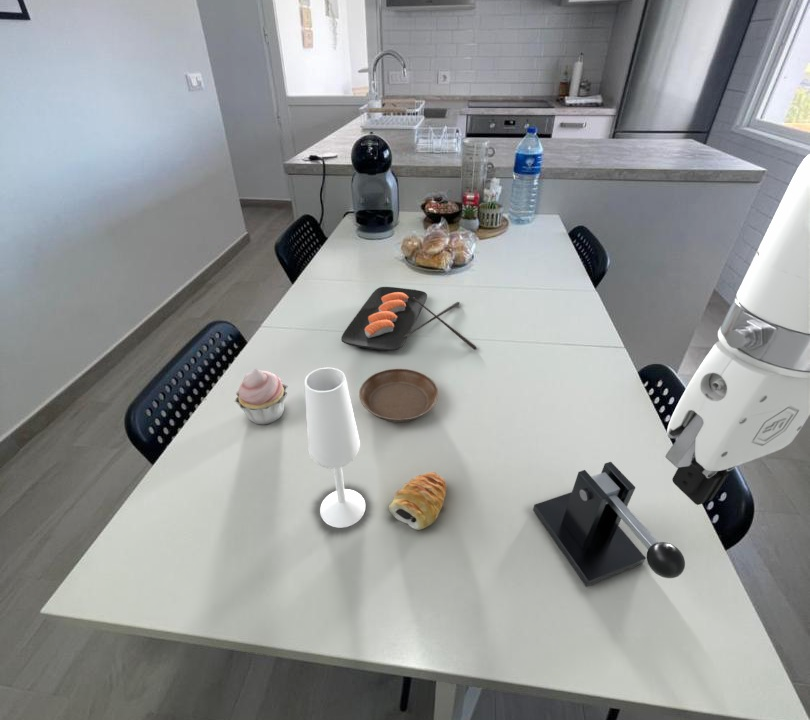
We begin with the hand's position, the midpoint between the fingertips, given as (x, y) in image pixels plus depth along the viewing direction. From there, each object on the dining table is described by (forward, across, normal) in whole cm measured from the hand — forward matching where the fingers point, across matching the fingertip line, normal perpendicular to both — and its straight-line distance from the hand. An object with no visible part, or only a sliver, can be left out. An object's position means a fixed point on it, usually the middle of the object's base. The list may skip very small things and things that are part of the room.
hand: (690, 490), depth 43 cm
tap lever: (+12, 0, +3) cm, 13 cm away
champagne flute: (+21, -30, +24) cm, 44 cm away
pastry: (+21, -20, +21) cm, 35 cm away
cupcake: (+21, -39, +50) cm, 67 cm away
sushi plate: (+21, -1, +69) cm, 72 cm away
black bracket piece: (+20, 0, +9) cm, 22 cm away
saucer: (+21, -15, +44) cm, 51 cm away
